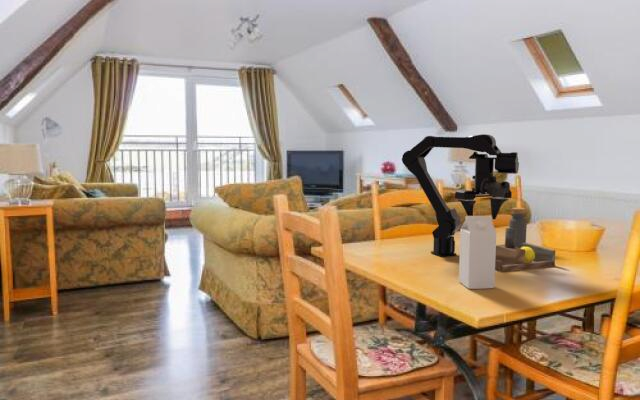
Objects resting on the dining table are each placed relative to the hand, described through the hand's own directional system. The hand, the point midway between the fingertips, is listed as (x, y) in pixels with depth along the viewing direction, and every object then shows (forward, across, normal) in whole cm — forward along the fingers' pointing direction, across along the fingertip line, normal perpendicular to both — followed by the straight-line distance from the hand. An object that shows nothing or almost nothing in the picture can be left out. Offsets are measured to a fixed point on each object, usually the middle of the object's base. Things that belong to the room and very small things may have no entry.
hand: (482, 220), depth 166 cm
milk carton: (+13, -22, -26) cm, 36 cm away
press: (+13, +4, -10) cm, 17 cm away
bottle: (+13, +22, +8) cm, 27 cm away
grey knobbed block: (+13, +3, -10) cm, 17 cm away
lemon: (+13, +10, -10) cm, 19 cm away
